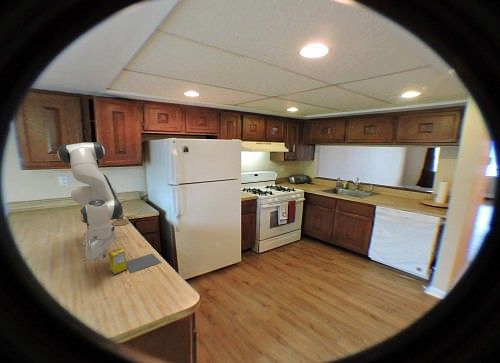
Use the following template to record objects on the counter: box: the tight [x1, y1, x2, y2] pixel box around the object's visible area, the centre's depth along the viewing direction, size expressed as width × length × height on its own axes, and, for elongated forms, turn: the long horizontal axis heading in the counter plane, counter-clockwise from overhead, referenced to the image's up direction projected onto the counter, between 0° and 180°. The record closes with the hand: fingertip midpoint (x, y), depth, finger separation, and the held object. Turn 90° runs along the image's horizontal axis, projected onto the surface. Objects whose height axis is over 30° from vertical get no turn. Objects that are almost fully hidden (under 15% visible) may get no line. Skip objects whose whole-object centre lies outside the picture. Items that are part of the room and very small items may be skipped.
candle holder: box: [111, 198, 129, 227], centre depth 187 cm, size 12×12×20 cm
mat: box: [126, 253, 162, 274], centre depth 126 cm, size 14×16×1 cm
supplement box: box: [108, 248, 127, 276], centre depth 117 cm, size 6×6×11 cm
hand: (102, 258), depth 113 cm, fingers closed
